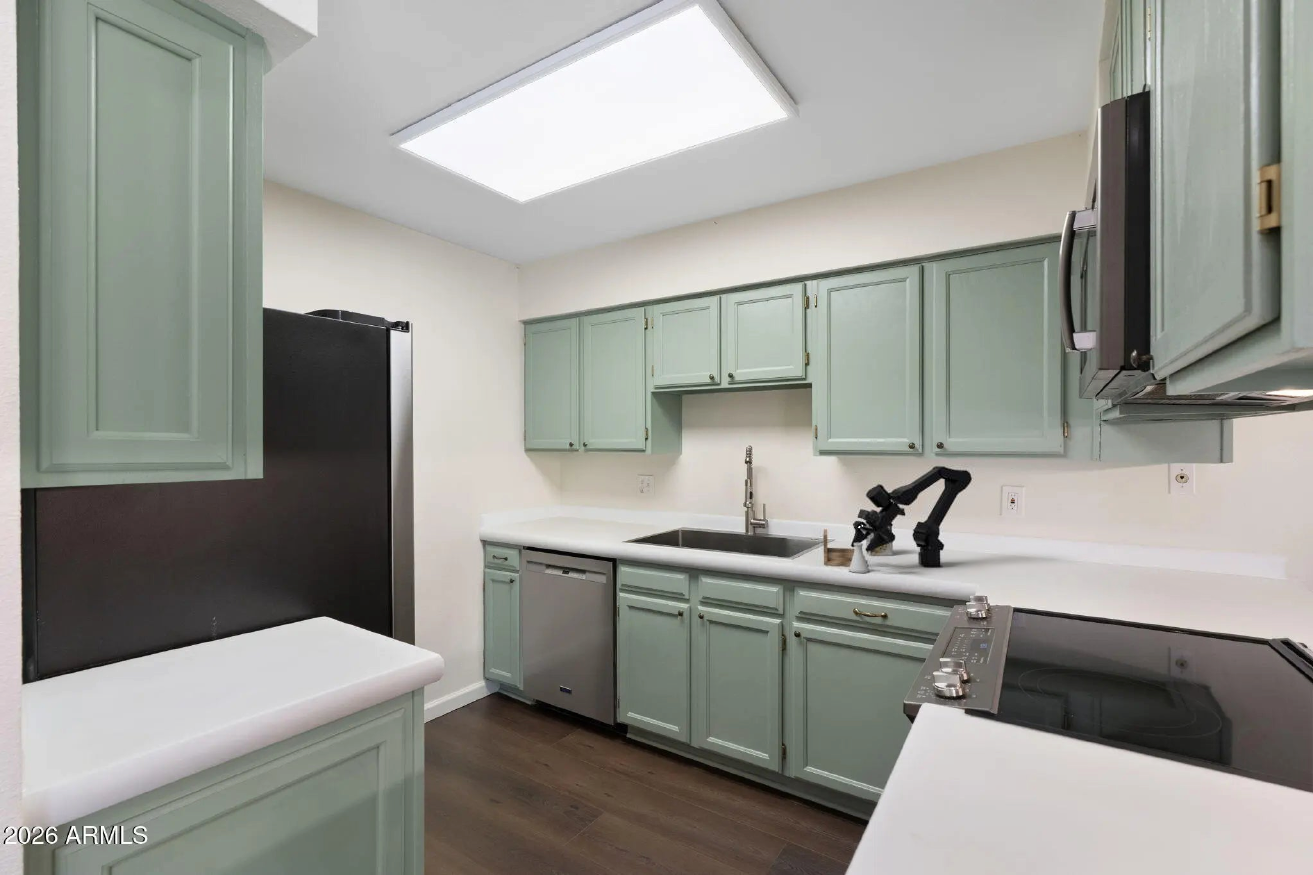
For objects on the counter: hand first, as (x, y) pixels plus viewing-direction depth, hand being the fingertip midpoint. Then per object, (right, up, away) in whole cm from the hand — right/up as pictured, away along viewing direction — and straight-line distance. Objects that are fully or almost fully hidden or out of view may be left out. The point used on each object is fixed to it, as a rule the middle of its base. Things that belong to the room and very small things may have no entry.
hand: (858, 548), depth 214 cm
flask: (0, -8, 0) cm, 8 cm away
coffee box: (+18, -8, +30) cm, 36 cm away
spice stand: (0, -8, +15) cm, 17 cm away
